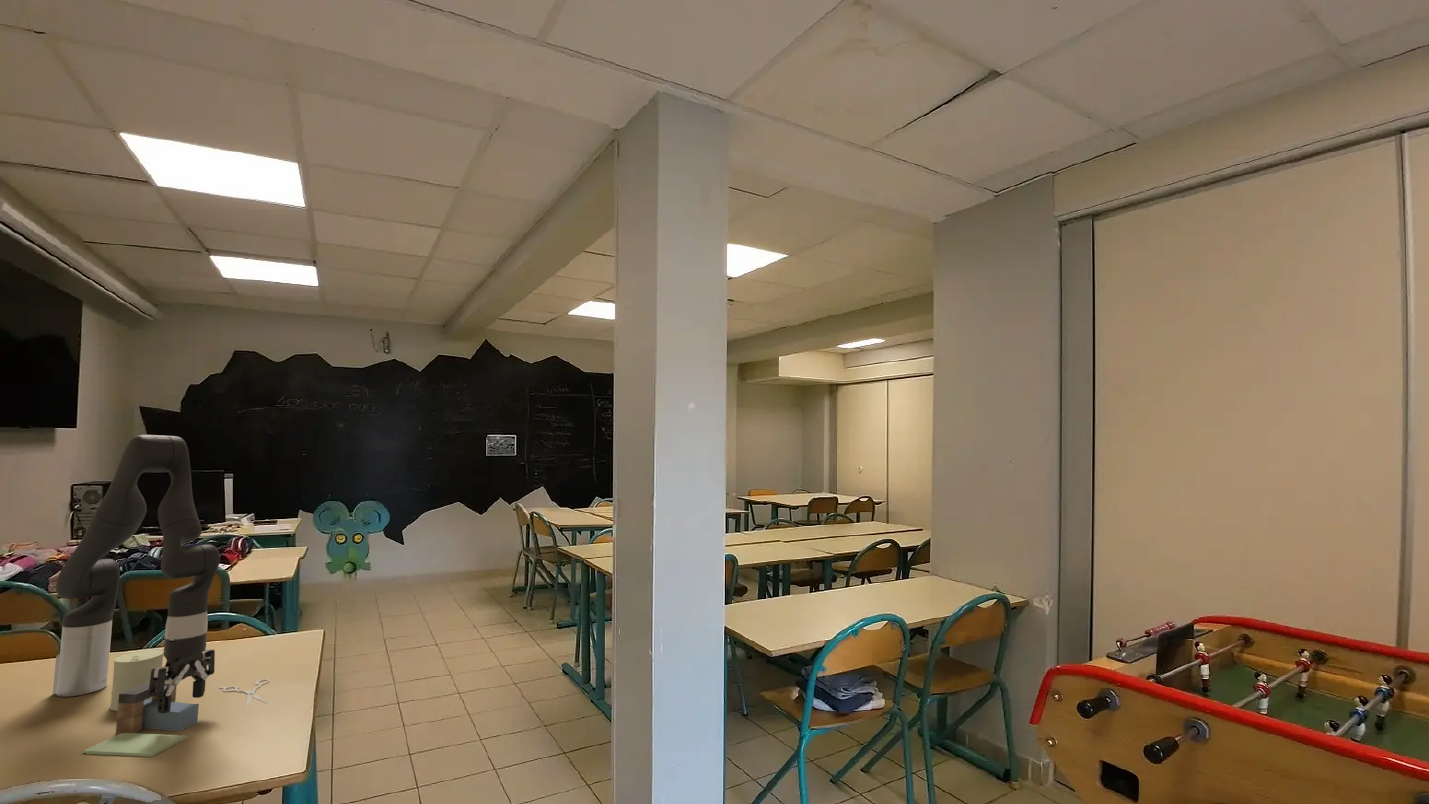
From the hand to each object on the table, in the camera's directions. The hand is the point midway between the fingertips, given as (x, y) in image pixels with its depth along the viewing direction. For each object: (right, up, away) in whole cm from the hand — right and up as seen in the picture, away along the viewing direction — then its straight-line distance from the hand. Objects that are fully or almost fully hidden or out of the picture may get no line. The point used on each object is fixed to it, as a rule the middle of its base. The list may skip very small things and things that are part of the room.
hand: (181, 704), depth 142 cm
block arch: (-8, -4, 0) cm, 9 cm away
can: (-21, -5, +11) cm, 24 cm away
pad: (-1, -4, -10) cm, 11 cm away
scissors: (+3, -7, +18) cm, 19 cm away
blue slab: (-4, -5, 0) cm, 7 cm away
